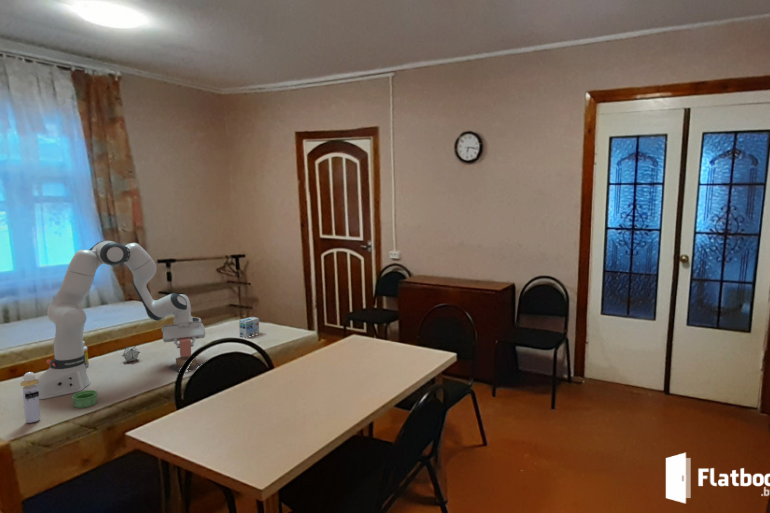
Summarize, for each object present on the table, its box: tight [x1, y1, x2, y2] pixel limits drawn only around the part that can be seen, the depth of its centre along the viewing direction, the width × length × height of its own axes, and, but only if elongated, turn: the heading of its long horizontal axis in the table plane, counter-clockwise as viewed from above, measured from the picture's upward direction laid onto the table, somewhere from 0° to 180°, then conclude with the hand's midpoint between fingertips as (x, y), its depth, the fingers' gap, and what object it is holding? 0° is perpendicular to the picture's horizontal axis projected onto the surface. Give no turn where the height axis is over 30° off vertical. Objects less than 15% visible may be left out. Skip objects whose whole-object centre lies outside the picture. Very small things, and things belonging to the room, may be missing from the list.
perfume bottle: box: [19, 371, 41, 424], centre depth 183 cm, size 6×6×20 cm
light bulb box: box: [238, 316, 260, 338], centre depth 298 cm, size 11×7×11 cm, turn 147°
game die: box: [121, 345, 141, 364], centre depth 251 cm, size 9×8×10 cm
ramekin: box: [71, 389, 99, 409], centre depth 200 cm, size 9×9×4 cm
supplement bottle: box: [83, 340, 89, 368], centre depth 242 cm, size 7×7×13 cm
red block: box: [178, 338, 192, 357], centre depth 242 cm, size 5×5×8 cm
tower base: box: [168, 356, 202, 373], centre depth 243 cm, size 12×12×5 cm
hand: (185, 346), depth 241 cm, fingers closed on red block, 5 cm apart
